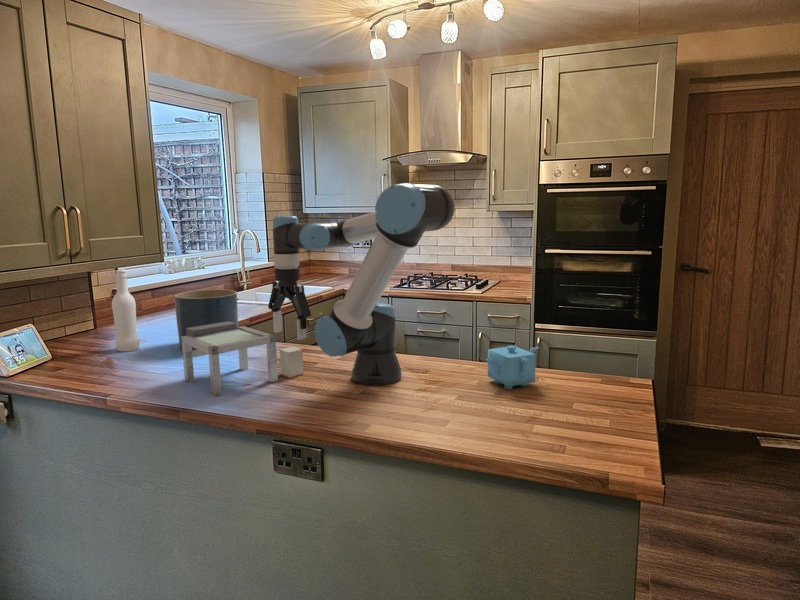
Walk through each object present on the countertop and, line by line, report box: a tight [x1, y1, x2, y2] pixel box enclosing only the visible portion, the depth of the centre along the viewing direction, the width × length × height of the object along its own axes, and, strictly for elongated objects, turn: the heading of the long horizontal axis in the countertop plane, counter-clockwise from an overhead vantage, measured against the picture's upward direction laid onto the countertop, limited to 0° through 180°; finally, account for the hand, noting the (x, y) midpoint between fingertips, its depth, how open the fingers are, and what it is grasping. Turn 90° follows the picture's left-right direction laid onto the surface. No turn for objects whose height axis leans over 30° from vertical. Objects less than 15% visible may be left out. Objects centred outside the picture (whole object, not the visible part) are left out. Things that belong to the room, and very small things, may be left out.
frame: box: [181, 325, 279, 398], centre depth 166 cm, size 20×20×14 cm
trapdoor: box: [186, 321, 261, 345], centre depth 168 cm, size 20×15×5 cm
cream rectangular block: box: [279, 346, 304, 378], centre depth 173 cm, size 5×5×8 cm
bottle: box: [111, 268, 141, 353], centre depth 205 cm, size 8×8×30 cm
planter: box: [173, 288, 239, 352], centre depth 210 cm, size 22×22×20 cm
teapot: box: [485, 345, 540, 390], centre depth 161 cm, size 16×18×11 cm
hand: (289, 335), depth 172 cm, fingers open, 13 cm apart
